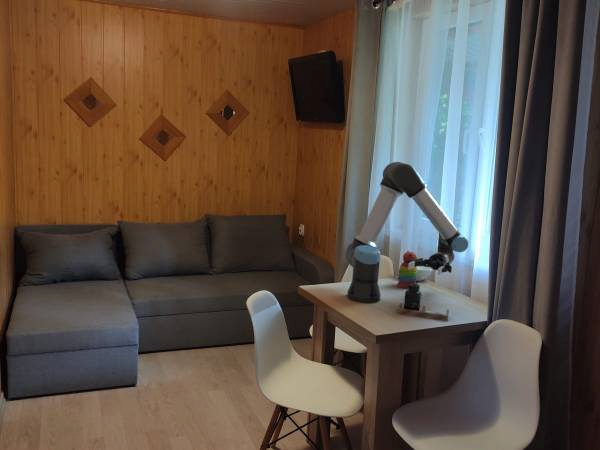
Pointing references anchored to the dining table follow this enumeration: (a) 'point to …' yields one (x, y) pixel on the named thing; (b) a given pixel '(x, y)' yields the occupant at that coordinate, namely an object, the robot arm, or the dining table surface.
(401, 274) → the stacking bear
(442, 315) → the notch rail
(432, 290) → the dining table surface
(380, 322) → the dining table surface
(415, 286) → the supplement bottle
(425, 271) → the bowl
